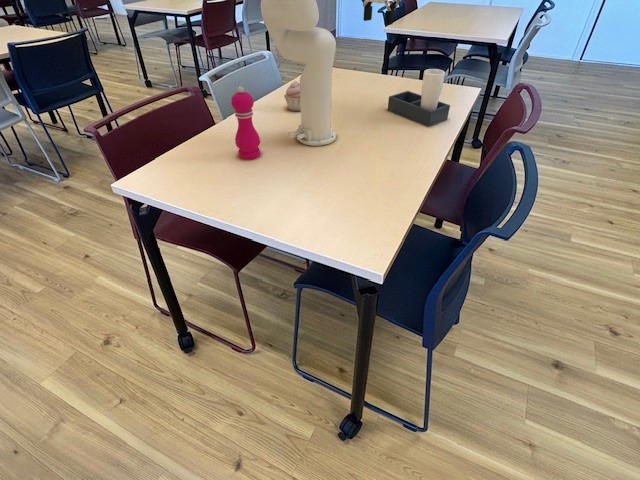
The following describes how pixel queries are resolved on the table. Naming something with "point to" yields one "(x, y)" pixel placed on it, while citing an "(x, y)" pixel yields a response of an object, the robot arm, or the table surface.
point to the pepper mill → (245, 125)
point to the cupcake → (293, 97)
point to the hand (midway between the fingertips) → (377, 22)
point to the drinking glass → (432, 88)
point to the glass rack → (417, 109)
